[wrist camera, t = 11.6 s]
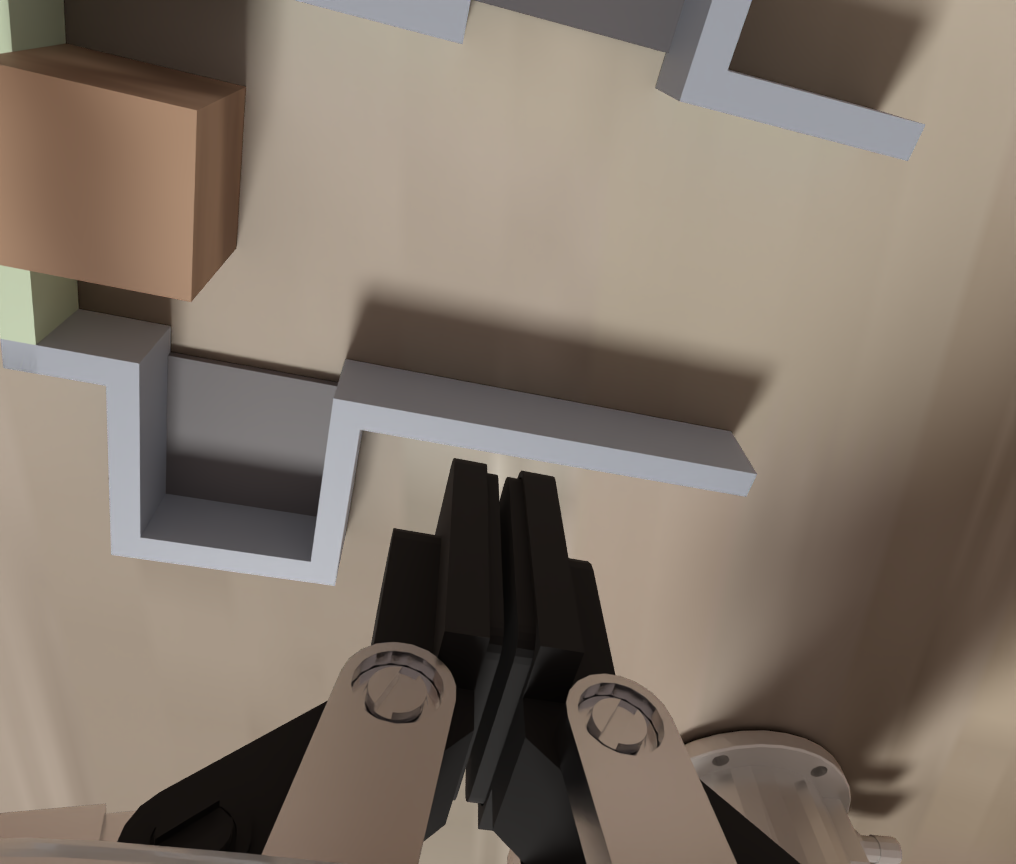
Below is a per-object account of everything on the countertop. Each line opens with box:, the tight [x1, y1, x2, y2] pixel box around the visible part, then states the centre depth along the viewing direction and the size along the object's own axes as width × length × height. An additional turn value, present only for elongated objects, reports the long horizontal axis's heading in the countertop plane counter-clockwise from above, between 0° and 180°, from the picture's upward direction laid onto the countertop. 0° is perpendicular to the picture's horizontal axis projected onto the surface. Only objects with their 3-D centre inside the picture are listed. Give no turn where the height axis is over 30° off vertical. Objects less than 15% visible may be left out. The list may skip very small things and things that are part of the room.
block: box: [0, 44, 246, 302], centre depth 21 cm, size 5×5×5 cm
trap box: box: [0, 0, 925, 586], centre depth 24 cm, size 25×27×3 cm
